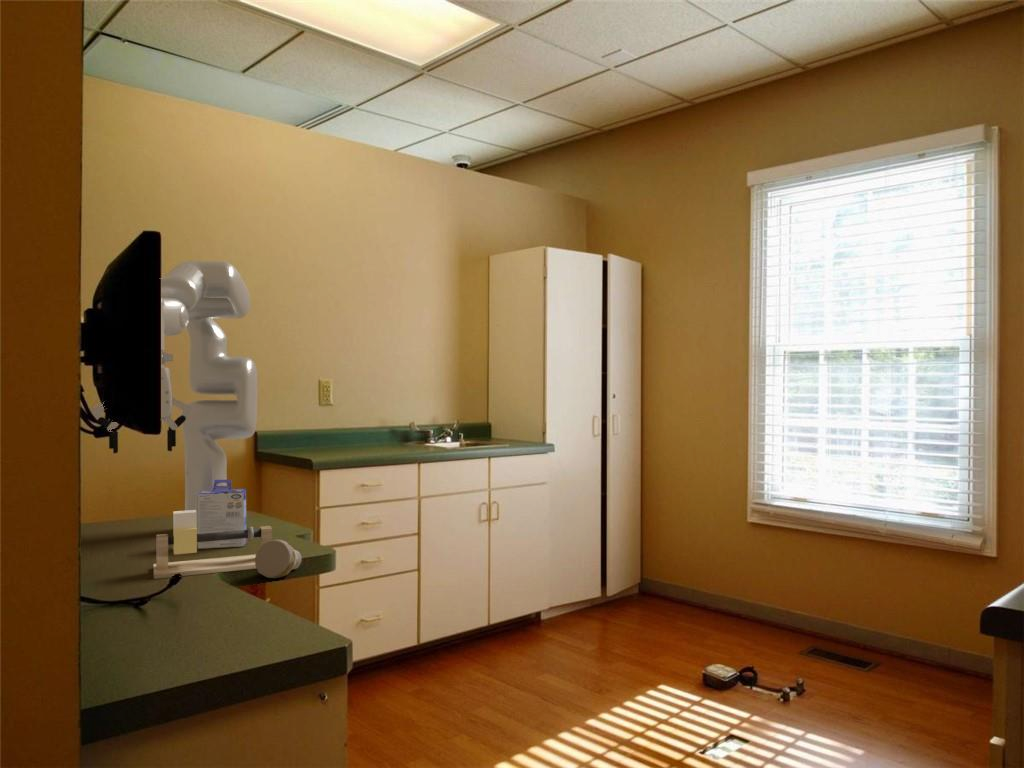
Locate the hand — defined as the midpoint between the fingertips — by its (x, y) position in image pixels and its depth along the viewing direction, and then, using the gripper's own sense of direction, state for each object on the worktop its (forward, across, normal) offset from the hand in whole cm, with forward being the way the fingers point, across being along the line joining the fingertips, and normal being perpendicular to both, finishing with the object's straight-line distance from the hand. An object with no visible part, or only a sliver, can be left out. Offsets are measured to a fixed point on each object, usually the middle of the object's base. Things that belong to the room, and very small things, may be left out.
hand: (143, 451), depth 145 cm
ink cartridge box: (+23, -16, -20) cm, 35 cm away
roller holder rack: (+23, -13, 0) cm, 27 cm away
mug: (+24, -23, +10) cm, 35 cm away
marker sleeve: (+20, -7, 0) cm, 21 cm away
